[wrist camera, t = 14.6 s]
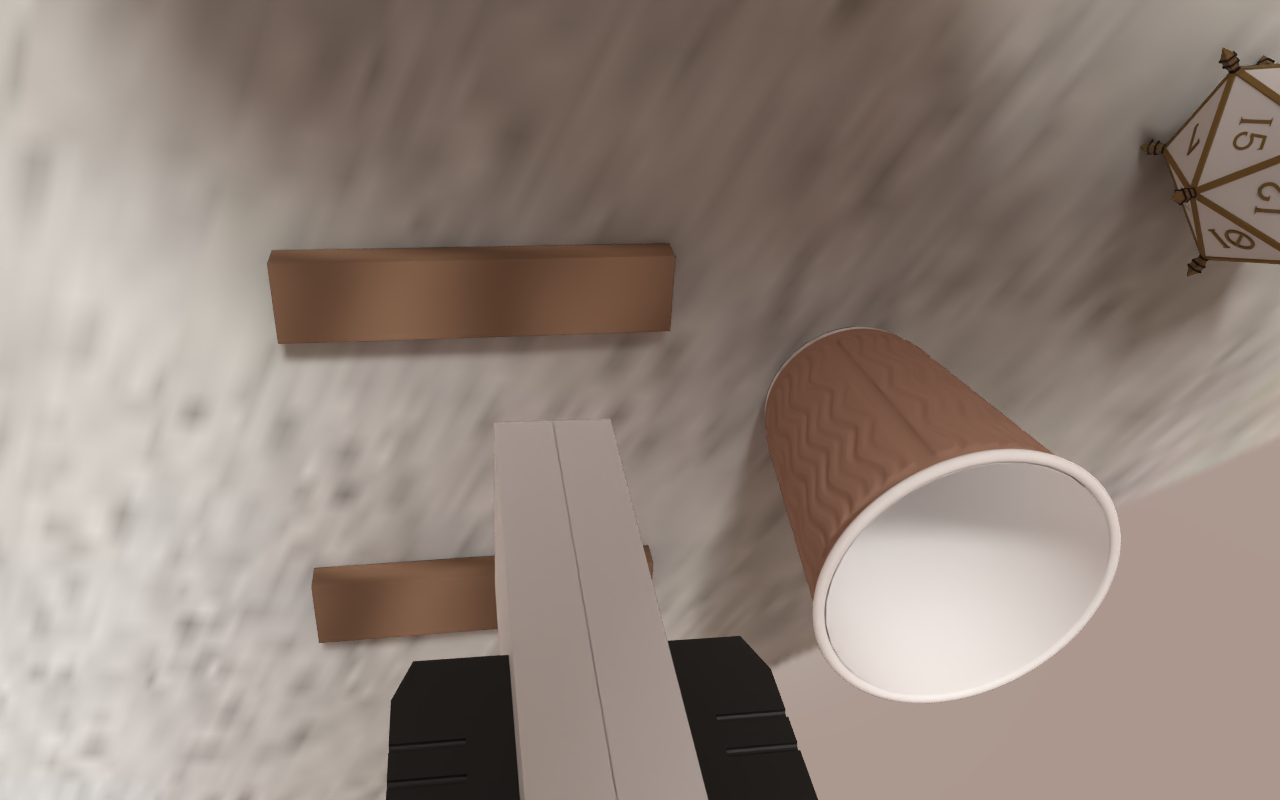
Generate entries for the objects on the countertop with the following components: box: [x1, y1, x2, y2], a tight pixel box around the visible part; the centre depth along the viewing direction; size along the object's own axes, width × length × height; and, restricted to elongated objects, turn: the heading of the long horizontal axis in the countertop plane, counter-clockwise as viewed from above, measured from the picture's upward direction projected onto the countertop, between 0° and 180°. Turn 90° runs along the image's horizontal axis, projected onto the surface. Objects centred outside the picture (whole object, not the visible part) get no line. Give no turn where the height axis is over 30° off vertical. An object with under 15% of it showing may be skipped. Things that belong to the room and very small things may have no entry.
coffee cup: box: [765, 327, 1121, 703], centre depth 39 cm, size 10×10×12 cm
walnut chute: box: [267, 244, 676, 643], centre depth 41 cm, size 14×17×1 cm
